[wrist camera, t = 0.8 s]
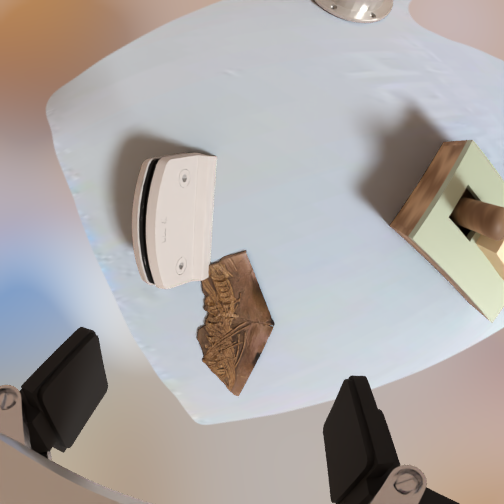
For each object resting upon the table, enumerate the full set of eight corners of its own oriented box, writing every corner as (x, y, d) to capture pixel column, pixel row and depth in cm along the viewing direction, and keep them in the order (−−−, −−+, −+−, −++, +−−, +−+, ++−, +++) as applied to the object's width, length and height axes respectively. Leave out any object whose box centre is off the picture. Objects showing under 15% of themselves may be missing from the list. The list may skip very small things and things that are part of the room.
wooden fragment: (201, 244, 38) (199, 246, 37) (284, 254, 38) (284, 257, 37) (198, 387, 46) (197, 391, 45) (261, 396, 46) (261, 400, 45)
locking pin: (442, 187, 33) (499, 199, 21) (457, 203, 33) (513, 221, 21) (429, 207, 34) (484, 227, 22) (444, 223, 34) (499, 247, 22)
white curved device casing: (209, 279, 39) (162, 306, 31) (181, 271, 41) (133, 294, 32) (217, 153, 35) (165, 148, 26) (187, 152, 36) (132, 149, 28)
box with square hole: (443, 142, 31) (467, 140, 26) (513, 233, 34) (535, 242, 28) (389, 225, 36) (408, 236, 30) (469, 303, 38) (488, 319, 32)
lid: (467, 140, 26) (495, 138, 20) (535, 242, 28) (558, 252, 23) (408, 236, 30) (431, 250, 24) (488, 319, 32) (507, 337, 27)
